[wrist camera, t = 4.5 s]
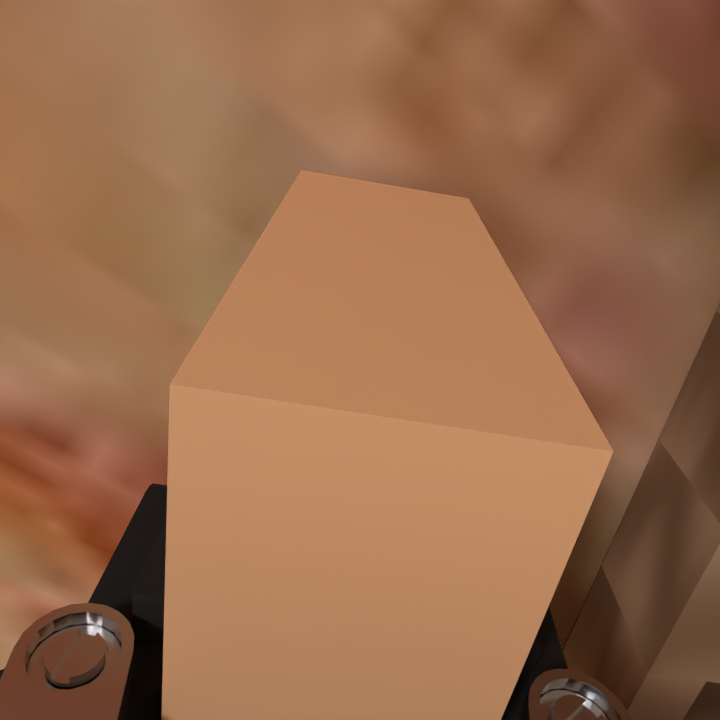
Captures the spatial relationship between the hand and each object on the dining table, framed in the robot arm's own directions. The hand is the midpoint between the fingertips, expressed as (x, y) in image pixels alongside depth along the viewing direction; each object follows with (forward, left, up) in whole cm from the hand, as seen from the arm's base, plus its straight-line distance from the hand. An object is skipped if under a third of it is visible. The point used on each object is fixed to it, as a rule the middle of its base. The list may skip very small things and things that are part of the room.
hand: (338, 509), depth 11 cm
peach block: (0, 0, -4) cm, 4 cm away
